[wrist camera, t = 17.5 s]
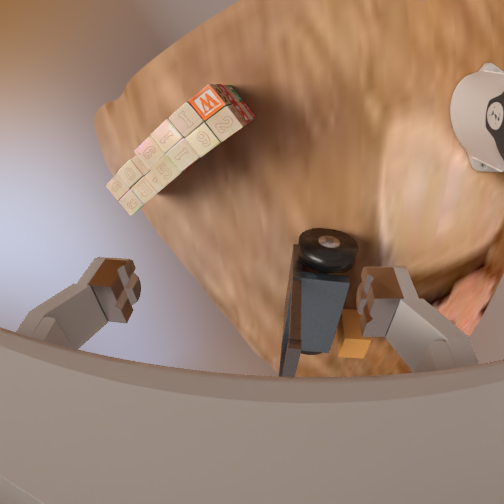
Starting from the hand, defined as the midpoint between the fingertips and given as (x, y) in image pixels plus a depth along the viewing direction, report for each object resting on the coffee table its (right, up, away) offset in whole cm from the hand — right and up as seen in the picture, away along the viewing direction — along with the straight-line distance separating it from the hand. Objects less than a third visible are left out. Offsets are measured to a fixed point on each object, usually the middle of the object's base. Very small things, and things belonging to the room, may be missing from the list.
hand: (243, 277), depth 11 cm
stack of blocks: (-9, +18, +34) cm, 40 cm away
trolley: (+12, -4, +44) cm, 45 cm away
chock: (+20, -12, +47) cm, 53 cm away
